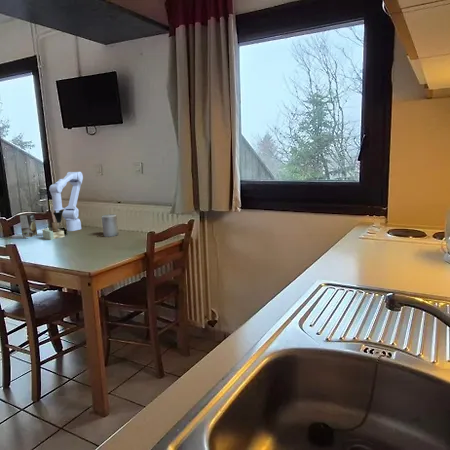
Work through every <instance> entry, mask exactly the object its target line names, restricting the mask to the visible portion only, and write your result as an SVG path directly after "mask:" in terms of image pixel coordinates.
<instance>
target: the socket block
mask: <svg viewBox="0 0 450 450" xmlns="http://www.w3.org/2000/svg"><path fill="white" fill-rule="evenodd" d="M53 236H54V239H60V238H65V237H66V236H65V231H64V230H61V229H58V232H53Z"/></svg>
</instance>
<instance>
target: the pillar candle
mask: <svg viewBox="0 0 450 450" xmlns="http://www.w3.org/2000/svg"><path fill="white" fill-rule="evenodd" d="M101 223H102V225H101V226H102V231H103V233H102V235H103V237H105V238H109V237H110V238H112V237H117V236H119V229H118V227H119V225H118V219H117V214H114V213H113V214H111V213H108V214H104V215H102V216H101Z"/></svg>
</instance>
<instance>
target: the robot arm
mask: <svg viewBox="0 0 450 450" xmlns="http://www.w3.org/2000/svg"><path fill="white" fill-rule="evenodd" d="M83 175H84V174H83V172H82V171H67V173H66V175H65V176H64V177H63V178H58V181H56V182H55V183H53V184H51V185H50V186H49V189H48V190H49V192H50V195H51V199H52V207H53V208H52V210H53V211H54V212H53V213H52V214H53V215H54V217H55V220H56V222H57V224H58V223H59V224H60V223H61V222H62V219H64V220H65V226H66V231H67V232H74V231H79V230H82V222H81V219H80V218H79V213H80V212H79V211H80V210H79V208H78V207H77V205H78V199H79V194H80V191H81V187H82V186H81V185H82V184H83V179H84V176H83ZM68 183H69V184H70V185H71V186H72V188H71V193H70V196H69V201H68V205H67V206H65V207H63V201H62V192H63V189H64V188H65V187H66V186H67V184H68Z"/></svg>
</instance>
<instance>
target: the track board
mask: <svg viewBox="0 0 450 450" xmlns="http://www.w3.org/2000/svg"><path fill="white" fill-rule="evenodd" d="M41 231H42V238H44V239H46V240H50V241H53V240H54V236H53V230H49V229H47V228H46V229H42V230H41Z"/></svg>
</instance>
